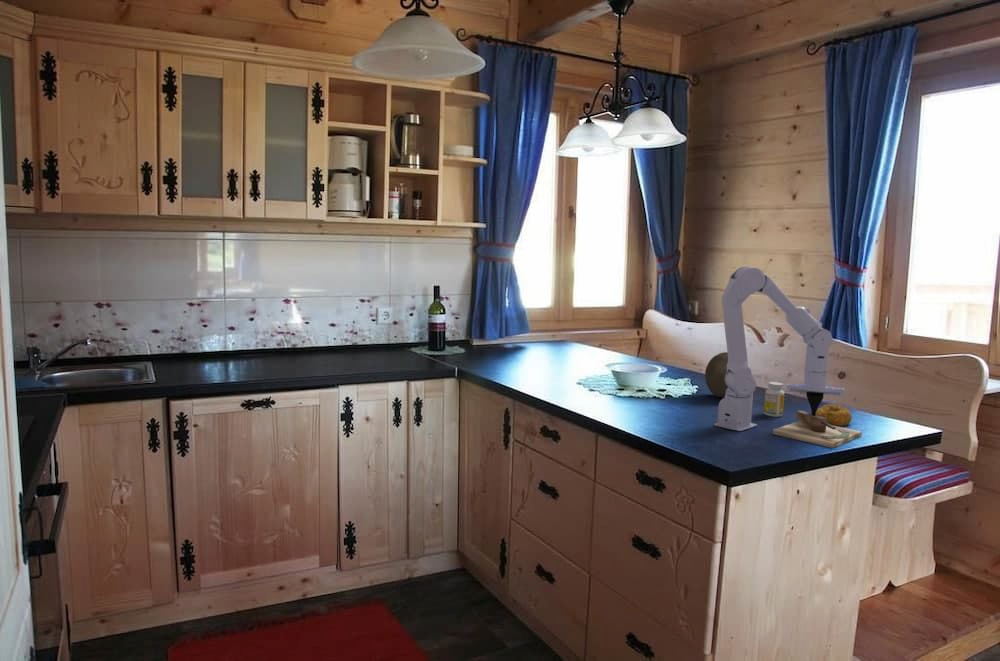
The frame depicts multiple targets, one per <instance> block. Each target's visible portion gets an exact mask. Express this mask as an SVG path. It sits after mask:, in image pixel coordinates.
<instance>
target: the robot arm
mask: <svg viewBox="0 0 1000 661" xmlns="http://www.w3.org/2000/svg"><path fill="white" fill-rule="evenodd" d="M754 293H759V294H763V295H765V296H767V297H768V298H769V299H770V300H771V302H773V303H774V304H775V305H776V306H777V307H778V308H779V309H780V310H781V311H782V312H783V313H785V316H786V317H785V319H786V320H785V321H786V322H787V323H788V325H789V326H791V328H792V329H793V330H794V331H796V332H797V334H799V336H801V337H802V340H803V342H804V344H806V350H805V362H804V364H805V366H804V375H803V376H804V378H803V379H804V381H803V383H799V384H798V383H786V390H785V392H786V393H787V392H788V393H791V392H792V393H805V394H806V395H805V396H806V399H807V401H808V403H809V407H810V410H811V413H810V414H811V415H813V416H816V411H817V409H819V406H820V404H821V403H822V401H823V399H824V397H825V396H824V395H830V396H839V397H845V388H844V387H837V386H836V387H835V386H828V384H827V382H828V381H827V380H828V371H829V356H830V355H829V354H830V353H829V352H830V348H831V347H832V346H833V344H834V342H835V339H833V335H832V333H831V332H830V331H829V329H826V328H823V327H822V326H823V323H822V322H821V321H818V320H817V319H816V318H815V317H813V315H812V314H811V312H812V311H811V310H810V308H807V307H804V306H796V305H795V304H794V302H793V301H792V300H791V299H790V298H789V297H788V296H787V295H786V293H785V292H783V290H782V289H781V288H780V287H779V286H778V284H776V282H775V281H774V280H773V279H772V278H771V277H770V276H768V275H767V274H765V273H764V272H763V271H762V270H761V269H760V268H757V267H749V266H741V267H739V268H737V269H736V270H735V271H733V273H732V274H730V276H729V279H728V282H727V284H726V287H725V289H724V291H723V293H722V295H721V305H722V307H721V308H722V314H723V324H724V334H725V342H726V352H728V363H727V373H726V375H725V383H726V385H727V386H728V388H727V390H726V394H725V397H724V398H722V399H720V401H719V403H718V408H717V422H716V423H714V424H713V425H714V426H715V427H719V428H720V427H721V428H723V429H724V428H725V429H729V430H733V431H737V432H742V431H745V430H749V429H752V428H755V427H757V426H758V424H757V423H752V410H753V397H754V396H753V395H754V392H755V391H756V388H757V382H756V378H755V377H754V376H753V374H752V368H751V366H750V363H749V360H748V353H747V352H748V351H747V343H746V334H745V333H746V332H745V324H744V323H745V322H744V315H743V307H742V306H743V303H744V302H745V301H746V300H747V298H749V297H750V296H751V295H753V294H754Z"/></svg>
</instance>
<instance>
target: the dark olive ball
mask: <svg viewBox="0 0 1000 661" xmlns="http://www.w3.org/2000/svg"><path fill="white" fill-rule="evenodd" d="M727 363H728V352H727V351H726V352H724V351H723V352H720V353H718V354H716V355H714V356H712V358H711V359H710V360H709V361H708V363H707V365H706V368H705V370H704V380H705V382H706V386H707V388H708V390H709V391H710V393H711V394H713V395H714V396H715V397H718V398H722V399H723V398H724V397H725V394H726V390H727V388H728V386H727V385H726V383H725V375H726V373H727Z"/></svg>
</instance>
